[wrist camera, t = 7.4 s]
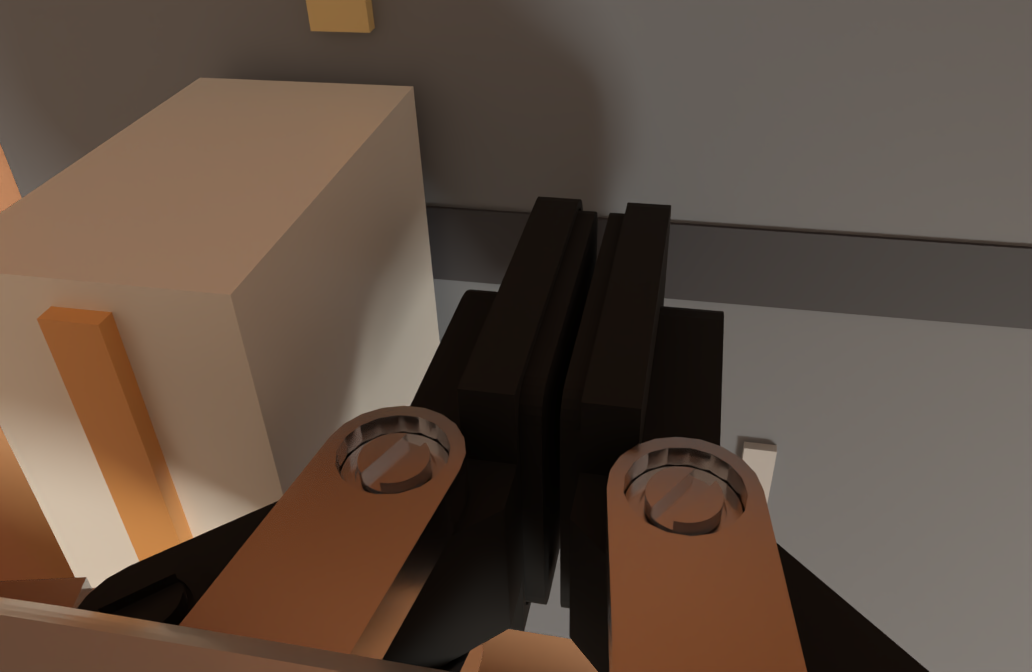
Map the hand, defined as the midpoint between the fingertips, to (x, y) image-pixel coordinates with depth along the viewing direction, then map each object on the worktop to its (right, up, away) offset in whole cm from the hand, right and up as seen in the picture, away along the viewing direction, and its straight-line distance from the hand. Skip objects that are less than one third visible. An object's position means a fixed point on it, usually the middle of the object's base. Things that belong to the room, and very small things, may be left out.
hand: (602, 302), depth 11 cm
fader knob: (-4, +1, +1) cm, 4 cm away
